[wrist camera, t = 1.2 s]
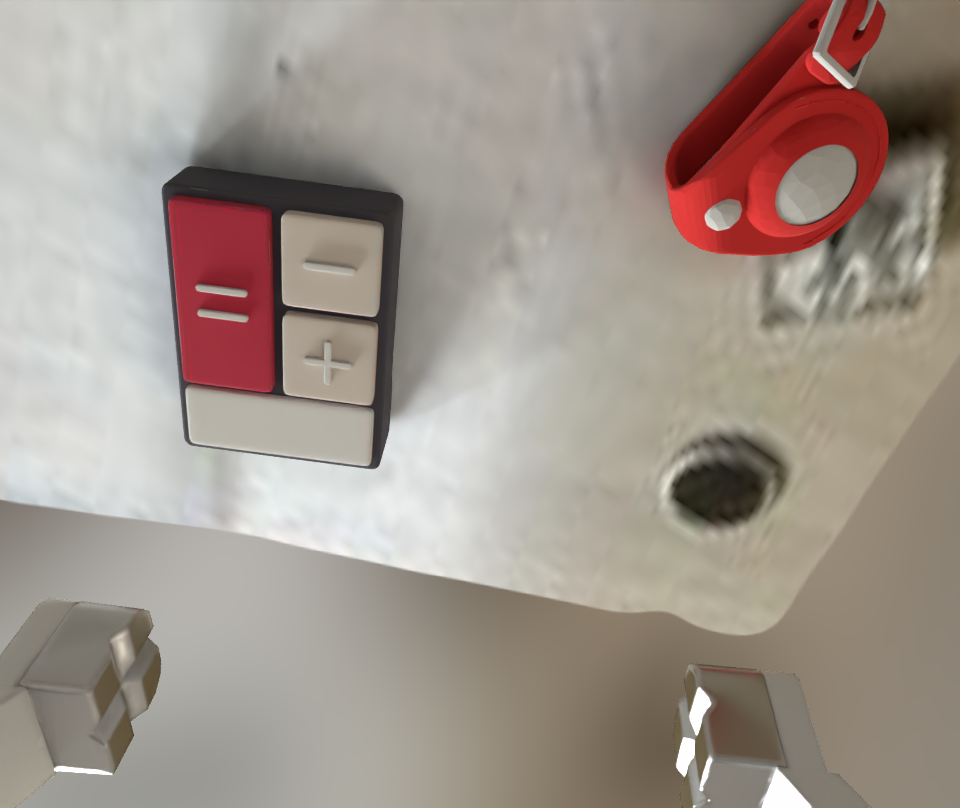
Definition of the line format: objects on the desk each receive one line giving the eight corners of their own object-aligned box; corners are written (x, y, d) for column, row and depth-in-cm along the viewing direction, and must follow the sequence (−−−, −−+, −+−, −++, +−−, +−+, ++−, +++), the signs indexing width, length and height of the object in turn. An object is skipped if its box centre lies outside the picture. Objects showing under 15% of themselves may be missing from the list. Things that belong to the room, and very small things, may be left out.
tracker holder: (908, 224, 39) (708, 309, 39) (855, 179, 42) (671, 258, 42) (925, -40, 30) (669, 73, 31) (857, -71, 33) (626, 32, 34)
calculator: (393, 219, 38) (377, 479, 46) (406, 190, 41) (389, 436, 49) (152, 186, 37) (178, 453, 45) (187, 160, 41) (205, 411, 49)
